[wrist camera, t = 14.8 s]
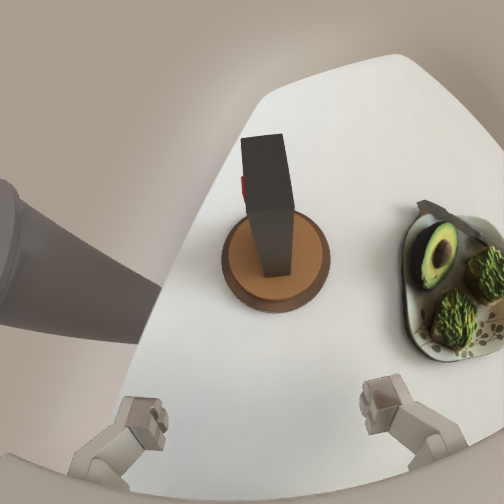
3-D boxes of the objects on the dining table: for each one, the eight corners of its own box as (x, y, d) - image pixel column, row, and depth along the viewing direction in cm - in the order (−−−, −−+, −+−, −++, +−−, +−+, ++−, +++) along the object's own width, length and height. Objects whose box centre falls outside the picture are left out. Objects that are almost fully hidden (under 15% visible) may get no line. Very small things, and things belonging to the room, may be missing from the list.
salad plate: (509, 217, 29) (527, 202, 25) (523, 349, 24) (546, 346, 19) (392, 204, 32) (405, 184, 27) (398, 366, 26) (416, 368, 22)
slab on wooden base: (326, 295, 28) (367, 240, 14) (233, 305, 29) (181, 260, 14) (313, 210, 31) (330, 104, 17) (228, 219, 32) (186, 121, 17)
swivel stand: (210, 297, 30) (207, 296, 30) (239, 202, 34) (238, 198, 33) (316, 324, 29) (317, 323, 28) (337, 223, 32) (338, 219, 31)
